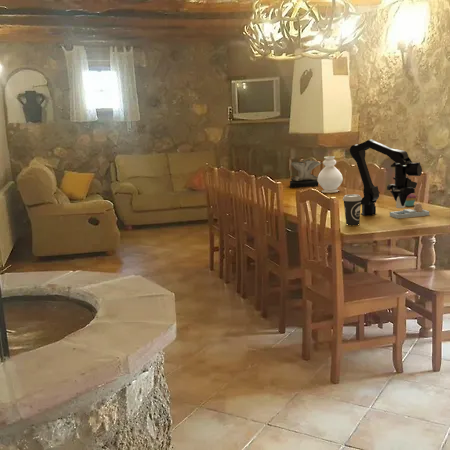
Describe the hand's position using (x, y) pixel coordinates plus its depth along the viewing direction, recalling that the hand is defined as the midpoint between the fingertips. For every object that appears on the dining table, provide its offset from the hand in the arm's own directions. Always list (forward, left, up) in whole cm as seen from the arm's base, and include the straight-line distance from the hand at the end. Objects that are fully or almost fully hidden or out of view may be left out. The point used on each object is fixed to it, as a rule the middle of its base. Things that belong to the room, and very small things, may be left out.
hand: (400, 205), depth 280 cm
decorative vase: (+3, +107, -7) cm, 107 cm away
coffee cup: (-29, -5, -7) cm, 30 cm away
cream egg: (0, 0, -1) cm, 1 cm away
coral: (-3, +143, -7) cm, 143 cm away
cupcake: (+21, +29, -7) cm, 36 cm away
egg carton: (+5, 0, -7) cm, 8 cm away
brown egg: (+10, 0, -6) cm, 12 cm away
